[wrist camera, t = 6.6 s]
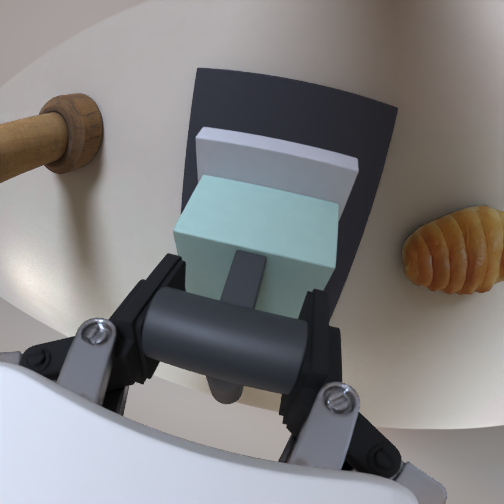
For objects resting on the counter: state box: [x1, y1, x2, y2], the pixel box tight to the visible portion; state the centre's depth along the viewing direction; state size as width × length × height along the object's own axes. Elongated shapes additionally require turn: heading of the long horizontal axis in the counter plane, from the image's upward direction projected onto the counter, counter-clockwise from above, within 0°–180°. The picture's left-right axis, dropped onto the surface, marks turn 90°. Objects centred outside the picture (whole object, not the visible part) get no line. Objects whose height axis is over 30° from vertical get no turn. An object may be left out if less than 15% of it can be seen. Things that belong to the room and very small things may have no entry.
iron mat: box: [181, 68, 398, 321], centre depth 22 cm, size 24×13×1 cm, turn 171°
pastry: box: [402, 206, 504, 295], centre depth 18 cm, size 9×7×4 cm
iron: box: [142, 127, 359, 404], centre depth 15 cm, size 14×7×10 cm, turn 171°
